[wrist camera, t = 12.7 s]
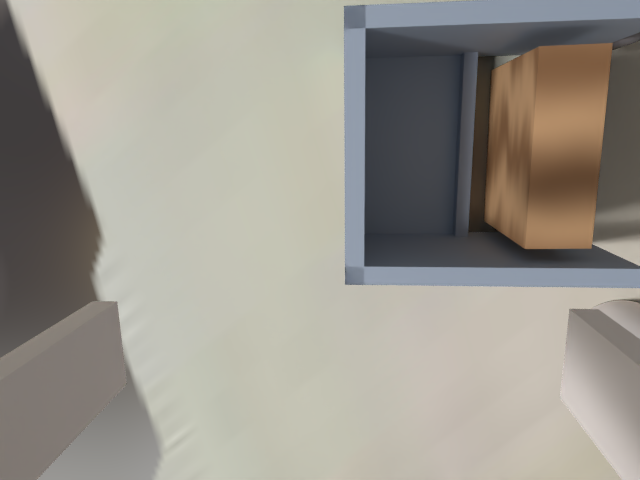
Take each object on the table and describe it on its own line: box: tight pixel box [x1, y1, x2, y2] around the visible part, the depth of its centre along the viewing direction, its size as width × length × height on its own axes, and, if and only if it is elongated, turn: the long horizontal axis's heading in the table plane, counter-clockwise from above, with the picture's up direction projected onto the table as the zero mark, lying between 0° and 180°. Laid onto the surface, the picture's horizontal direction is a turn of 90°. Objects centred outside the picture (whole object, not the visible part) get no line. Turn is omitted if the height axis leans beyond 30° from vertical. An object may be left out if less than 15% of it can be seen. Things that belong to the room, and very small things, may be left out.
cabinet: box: [344, 0, 640, 288], centre depth 32 cm, size 17×20×11 cm
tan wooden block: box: [484, 43, 613, 249], centre depth 32 cm, size 12×5×10 cm, turn 2°
